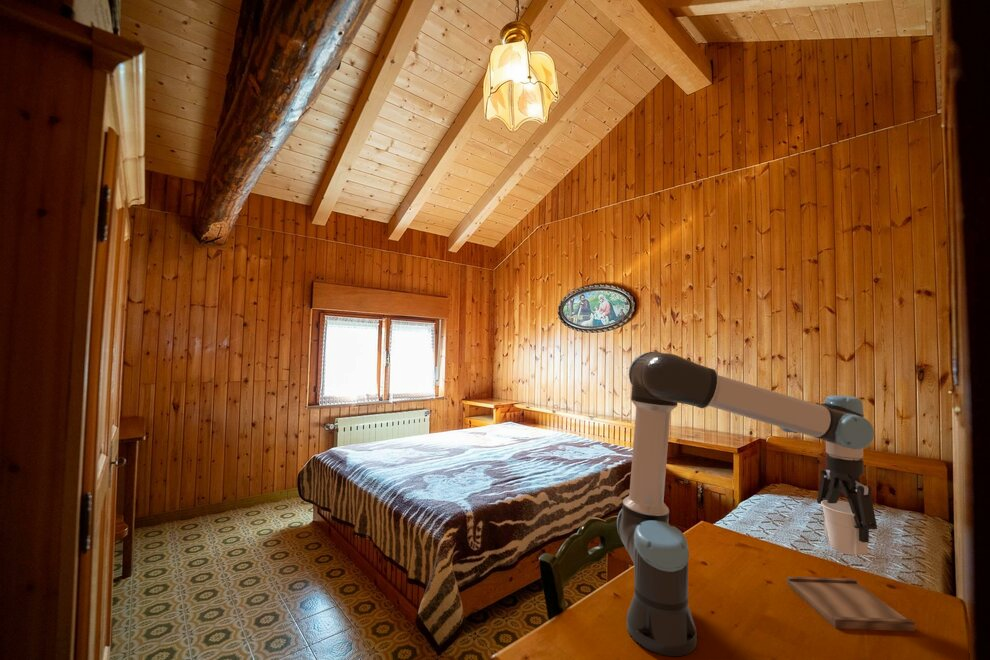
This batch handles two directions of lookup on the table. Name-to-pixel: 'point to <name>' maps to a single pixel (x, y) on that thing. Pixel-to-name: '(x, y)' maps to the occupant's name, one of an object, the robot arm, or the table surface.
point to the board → (848, 604)
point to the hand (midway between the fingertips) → (845, 543)
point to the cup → (840, 526)
